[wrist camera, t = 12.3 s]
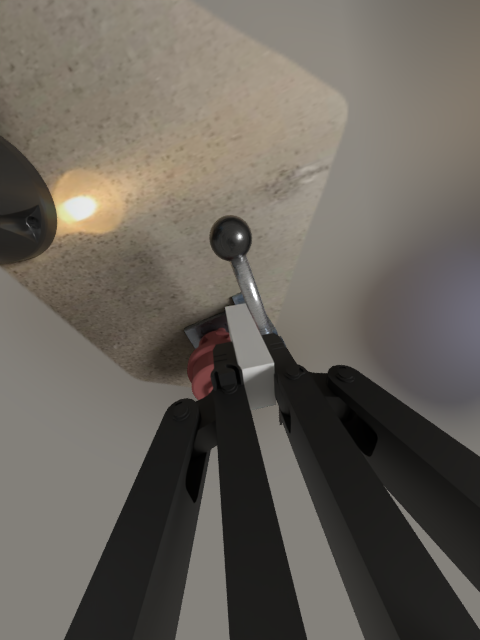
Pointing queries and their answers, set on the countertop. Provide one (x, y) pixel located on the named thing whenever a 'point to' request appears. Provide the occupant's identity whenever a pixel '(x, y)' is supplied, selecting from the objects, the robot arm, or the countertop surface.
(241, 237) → the lever
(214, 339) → the mechanical component
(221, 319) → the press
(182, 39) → the countertop surface
